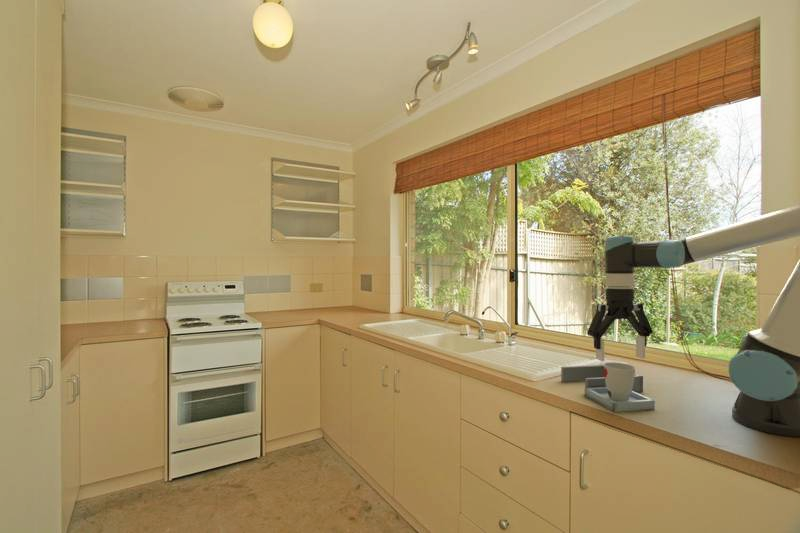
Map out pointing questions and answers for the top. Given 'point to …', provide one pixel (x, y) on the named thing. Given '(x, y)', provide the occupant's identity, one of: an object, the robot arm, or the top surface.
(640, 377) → the holder
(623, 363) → the charger
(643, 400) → the tray
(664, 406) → the top surface
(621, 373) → the cup
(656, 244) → the robot arm
